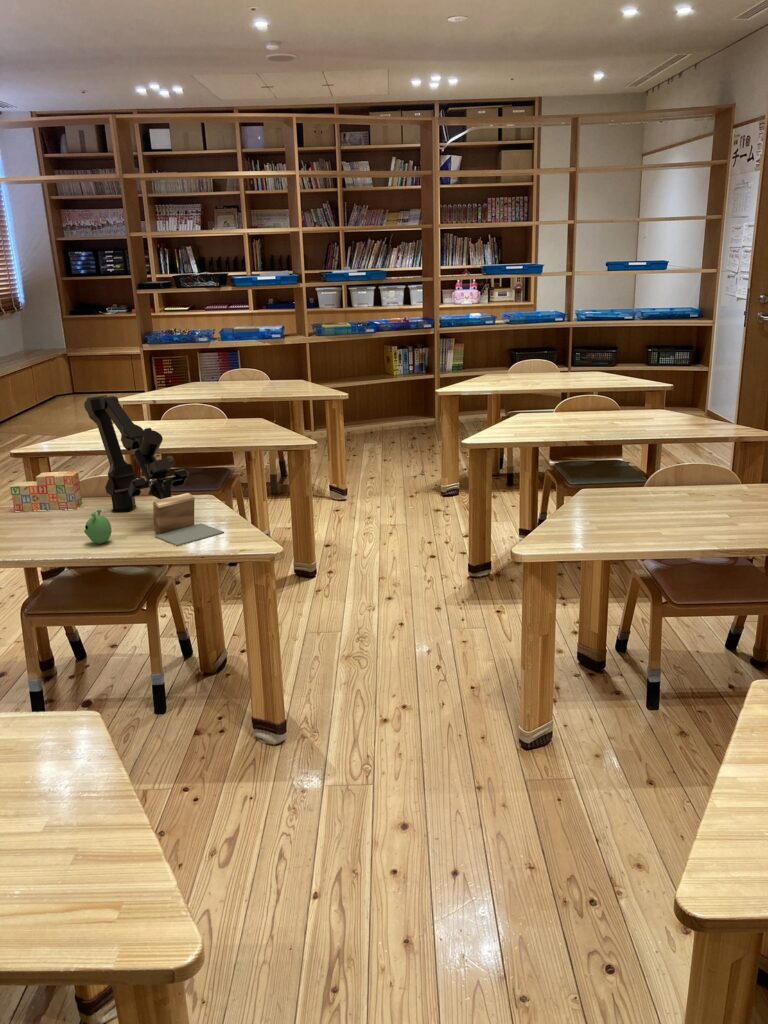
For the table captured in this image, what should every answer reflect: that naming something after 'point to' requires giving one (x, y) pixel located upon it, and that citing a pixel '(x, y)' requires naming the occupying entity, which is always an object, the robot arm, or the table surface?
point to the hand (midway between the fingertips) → (170, 504)
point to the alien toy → (98, 528)
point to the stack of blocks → (48, 492)
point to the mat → (189, 534)
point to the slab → (173, 513)
